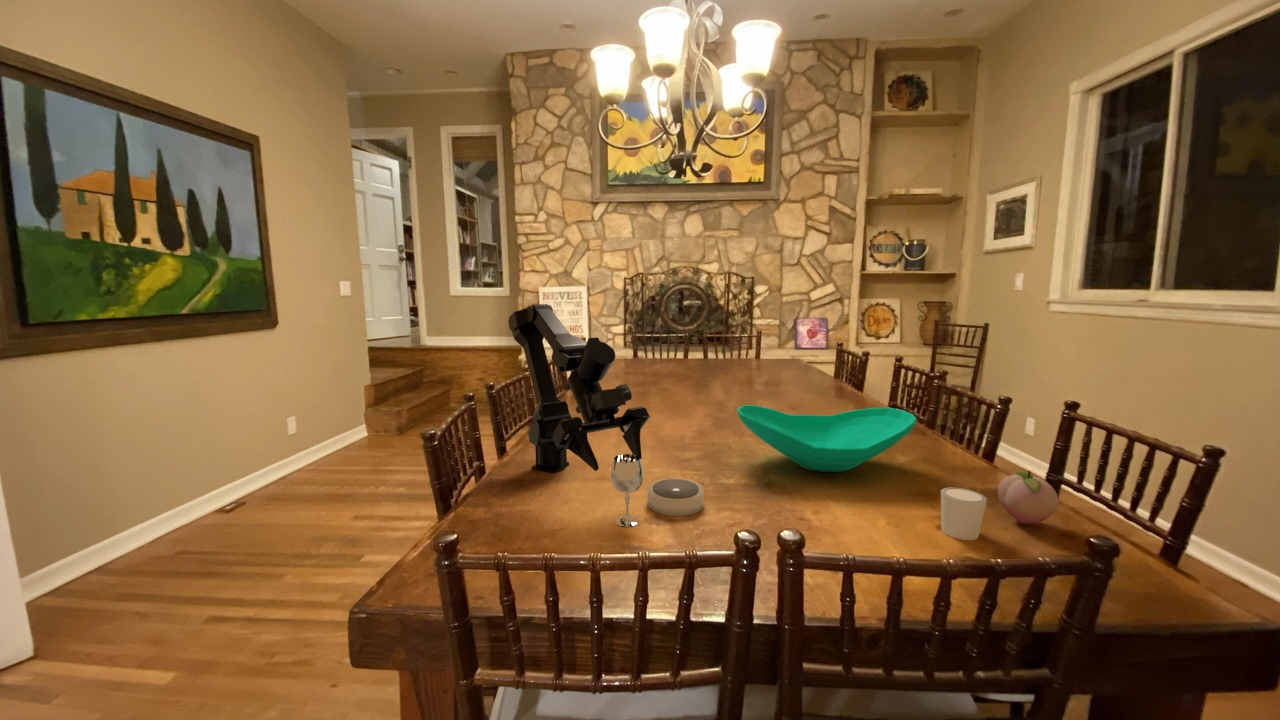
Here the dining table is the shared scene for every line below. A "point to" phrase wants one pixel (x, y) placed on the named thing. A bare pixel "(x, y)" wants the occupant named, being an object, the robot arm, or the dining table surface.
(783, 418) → the table top decor
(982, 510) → the white cup
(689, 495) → the disc
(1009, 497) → the decorative fruit
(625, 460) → the wineglass
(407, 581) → the dining table surface
